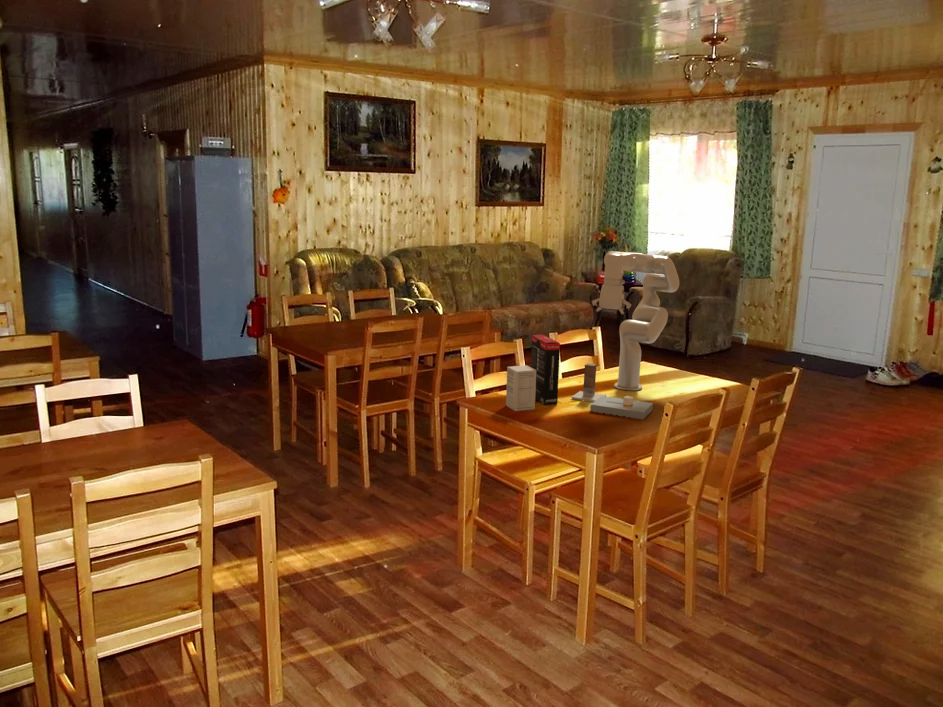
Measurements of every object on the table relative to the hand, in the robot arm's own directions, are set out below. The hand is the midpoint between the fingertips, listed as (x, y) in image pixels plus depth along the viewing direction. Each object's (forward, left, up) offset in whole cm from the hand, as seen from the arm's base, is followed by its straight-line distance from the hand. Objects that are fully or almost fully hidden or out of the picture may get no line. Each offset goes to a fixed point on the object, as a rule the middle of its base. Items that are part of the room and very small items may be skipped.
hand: (610, 321), depth 349 cm
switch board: (+20, +13, -33) cm, 41 cm away
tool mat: (+8, -5, -33) cm, 35 cm away
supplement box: (+38, -25, -34) cm, 56 cm away
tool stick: (+8, -5, -32) cm, 34 cm away
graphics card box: (+22, -21, -34) cm, 45 cm away
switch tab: (+20, +16, -30) cm, 39 cm away
